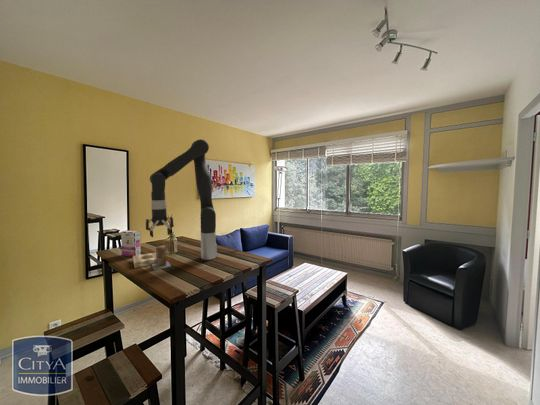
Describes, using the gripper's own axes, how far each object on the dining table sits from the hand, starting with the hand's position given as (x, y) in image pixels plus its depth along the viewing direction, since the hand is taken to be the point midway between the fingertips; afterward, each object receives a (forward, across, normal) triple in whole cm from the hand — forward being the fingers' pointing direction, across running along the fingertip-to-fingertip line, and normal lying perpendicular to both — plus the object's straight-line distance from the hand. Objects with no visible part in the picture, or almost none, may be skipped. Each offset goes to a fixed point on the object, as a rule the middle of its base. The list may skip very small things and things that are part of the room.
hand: (160, 235), depth 129 cm
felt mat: (+18, 0, 0) cm, 18 cm away
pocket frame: (+18, +6, -12) cm, 23 cm away
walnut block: (+18, 0, 0) cm, 18 cm away
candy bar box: (+18, +13, -31) cm, 38 cm away
